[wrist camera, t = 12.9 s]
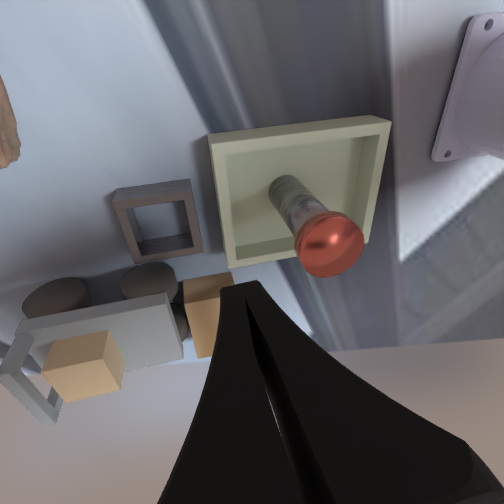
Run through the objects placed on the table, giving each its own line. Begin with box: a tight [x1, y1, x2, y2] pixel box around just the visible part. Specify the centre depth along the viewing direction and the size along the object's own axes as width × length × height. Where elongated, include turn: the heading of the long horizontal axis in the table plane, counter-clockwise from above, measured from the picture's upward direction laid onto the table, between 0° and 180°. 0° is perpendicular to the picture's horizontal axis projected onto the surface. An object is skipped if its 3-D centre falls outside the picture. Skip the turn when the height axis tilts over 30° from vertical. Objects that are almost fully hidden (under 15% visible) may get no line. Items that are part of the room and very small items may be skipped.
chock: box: [183, 272, 234, 359], centre depth 23 cm, size 4×6×3 cm, turn 3°
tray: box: [207, 115, 392, 269], centre depth 19 cm, size 10×8×2 cm
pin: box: [268, 175, 364, 277], centre depth 16 cm, size 3×3×7 cm
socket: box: [112, 179, 203, 264], centre depth 18 cm, size 4×4×2 cm
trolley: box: [0, 262, 189, 427], centre depth 19 cm, size 9×5×7 cm, turn 94°
